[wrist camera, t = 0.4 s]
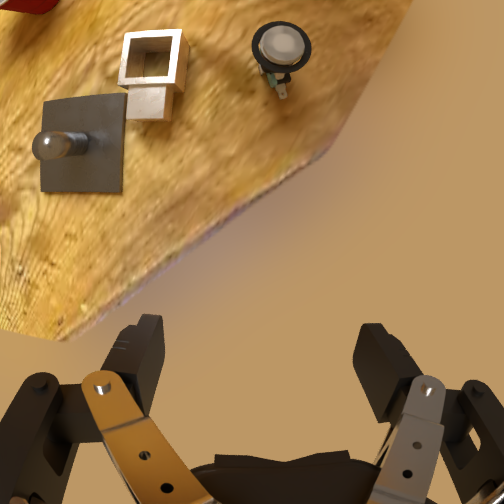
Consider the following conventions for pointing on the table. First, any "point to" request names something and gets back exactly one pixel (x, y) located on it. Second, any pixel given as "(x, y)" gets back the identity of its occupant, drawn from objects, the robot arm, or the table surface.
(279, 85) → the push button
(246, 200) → the table surface
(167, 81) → the grey hollow block
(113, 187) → the gray square plate
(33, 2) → the plastic cup
